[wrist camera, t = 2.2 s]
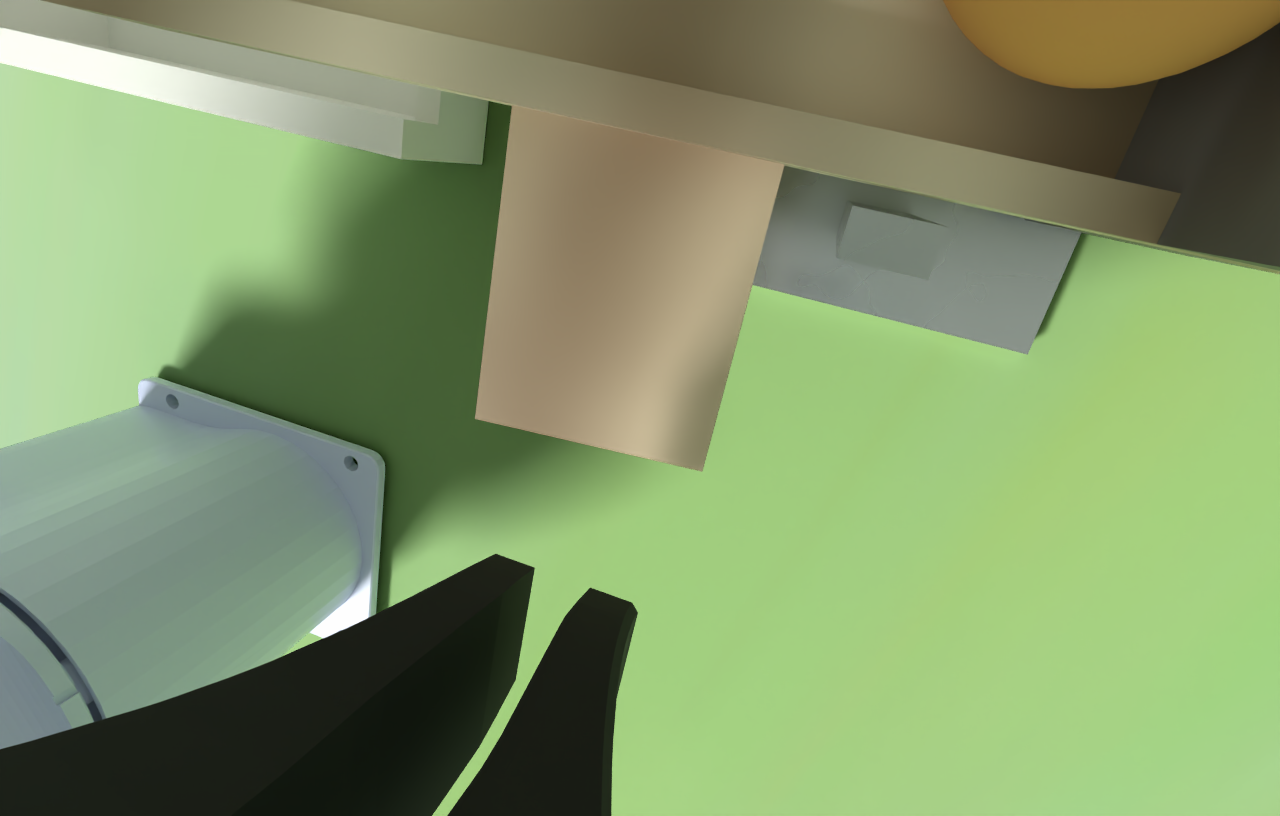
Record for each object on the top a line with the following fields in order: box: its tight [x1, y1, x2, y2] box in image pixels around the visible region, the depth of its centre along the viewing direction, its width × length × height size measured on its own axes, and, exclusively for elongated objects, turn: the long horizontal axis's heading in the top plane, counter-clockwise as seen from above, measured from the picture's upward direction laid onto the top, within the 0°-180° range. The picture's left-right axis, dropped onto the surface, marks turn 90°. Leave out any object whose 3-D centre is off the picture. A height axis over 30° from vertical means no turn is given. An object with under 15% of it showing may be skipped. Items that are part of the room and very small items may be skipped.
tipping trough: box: [42, 0, 1280, 471], centre depth 9 cm, size 18×12×7 cm, turn 78°
